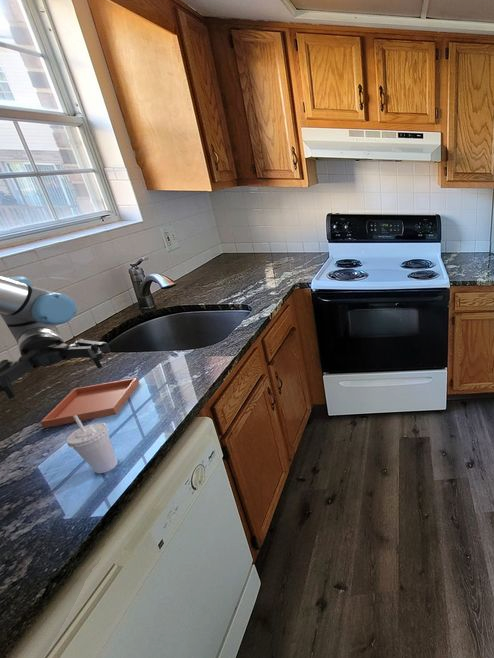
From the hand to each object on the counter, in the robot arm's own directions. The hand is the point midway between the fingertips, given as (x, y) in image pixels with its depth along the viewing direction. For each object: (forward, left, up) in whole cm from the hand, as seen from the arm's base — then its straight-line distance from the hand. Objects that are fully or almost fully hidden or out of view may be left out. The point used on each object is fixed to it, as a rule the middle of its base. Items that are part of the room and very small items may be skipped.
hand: (55, 376), depth 77 cm
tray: (-9, +21, -20) cm, 30 cm away
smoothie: (+5, -8, -20) cm, 22 cm away
